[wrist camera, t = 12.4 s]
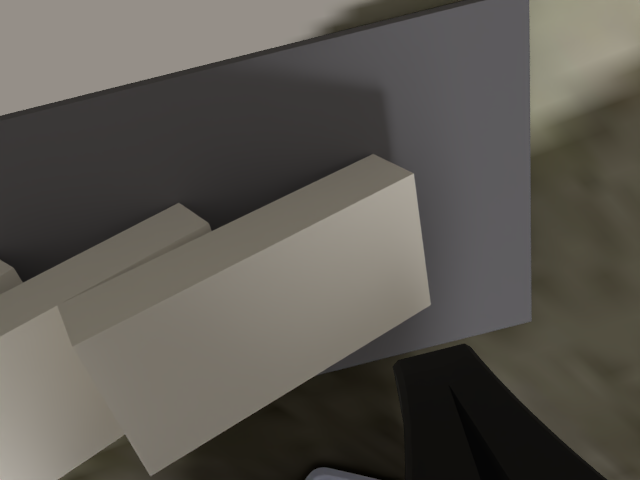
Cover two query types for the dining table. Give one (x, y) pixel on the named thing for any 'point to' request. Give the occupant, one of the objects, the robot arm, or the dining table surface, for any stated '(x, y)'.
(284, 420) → the dining table surface
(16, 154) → the domino mat
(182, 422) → the beige rectangular block
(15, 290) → the domino
